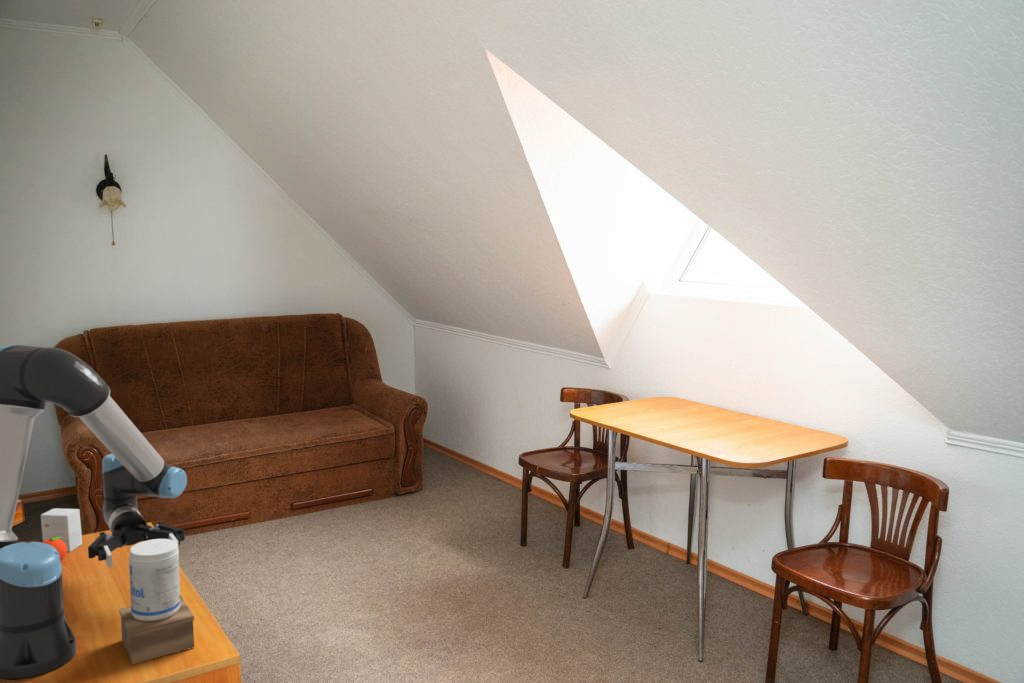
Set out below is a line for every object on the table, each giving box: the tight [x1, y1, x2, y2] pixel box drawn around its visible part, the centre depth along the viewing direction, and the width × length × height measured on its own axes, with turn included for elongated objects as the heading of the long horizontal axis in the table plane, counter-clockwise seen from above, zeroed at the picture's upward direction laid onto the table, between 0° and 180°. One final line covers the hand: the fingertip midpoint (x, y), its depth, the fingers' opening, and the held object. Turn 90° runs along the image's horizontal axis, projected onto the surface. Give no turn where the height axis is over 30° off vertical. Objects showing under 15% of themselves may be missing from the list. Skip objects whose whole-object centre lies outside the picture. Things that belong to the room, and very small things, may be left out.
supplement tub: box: [128, 539, 181, 621], centre depth 167 cm, size 10×10×15 cm
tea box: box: [118, 594, 195, 665], centre depth 169 cm, size 12×12×7 cm
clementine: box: [41, 537, 69, 563], centre depth 210 cm, size 8×7×7 cm
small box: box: [40, 507, 83, 553], centre depth 221 cm, size 8×6×10 cm
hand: (144, 554), depth 175 cm, fingers open, 13 cm apart
